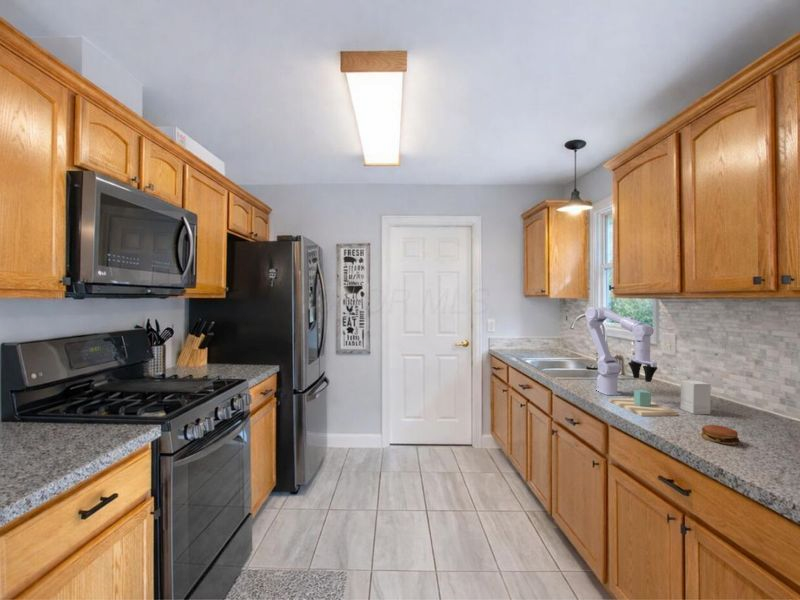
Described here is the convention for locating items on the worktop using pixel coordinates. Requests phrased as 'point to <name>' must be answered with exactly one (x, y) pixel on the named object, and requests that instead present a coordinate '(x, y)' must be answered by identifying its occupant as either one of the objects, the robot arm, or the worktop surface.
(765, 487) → the worktop surface
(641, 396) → the teal block
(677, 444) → the worktop surface
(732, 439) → the burger
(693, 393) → the supplement box
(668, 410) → the birch board
